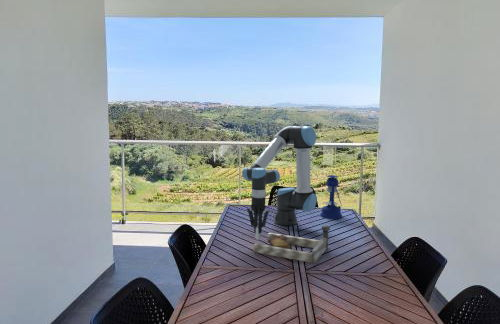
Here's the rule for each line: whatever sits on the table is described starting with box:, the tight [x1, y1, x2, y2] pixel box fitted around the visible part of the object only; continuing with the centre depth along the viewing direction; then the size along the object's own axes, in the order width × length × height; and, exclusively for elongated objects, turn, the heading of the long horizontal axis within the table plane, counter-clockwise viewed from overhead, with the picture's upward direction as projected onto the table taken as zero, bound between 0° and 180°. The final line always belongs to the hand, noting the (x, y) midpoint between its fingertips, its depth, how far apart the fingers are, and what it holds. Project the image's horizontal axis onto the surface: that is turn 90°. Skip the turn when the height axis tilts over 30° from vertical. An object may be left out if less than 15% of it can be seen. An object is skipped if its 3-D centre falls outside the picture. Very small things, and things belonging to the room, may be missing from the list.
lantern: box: [319, 174, 343, 220], centre depth 259 cm, size 17×15×30 cm
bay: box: [252, 225, 331, 264], centre depth 193 cm, size 34×26×12 cm
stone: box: [269, 234, 290, 249], centre depth 196 cm, size 15×9×5 cm, turn 5°
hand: (257, 238), depth 200 cm, fingers closed
